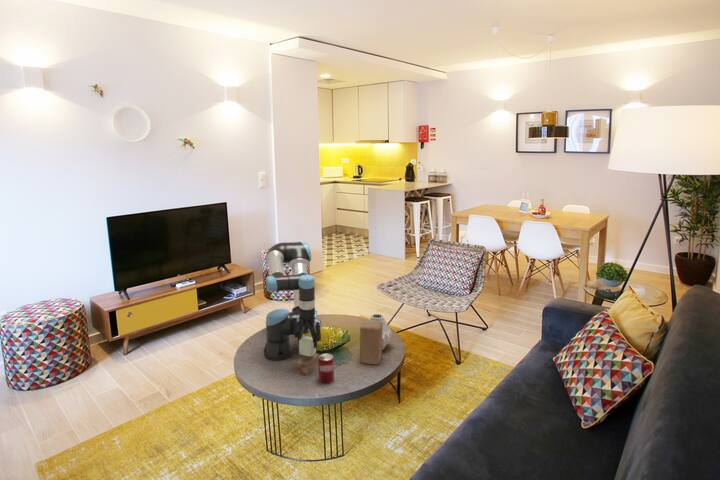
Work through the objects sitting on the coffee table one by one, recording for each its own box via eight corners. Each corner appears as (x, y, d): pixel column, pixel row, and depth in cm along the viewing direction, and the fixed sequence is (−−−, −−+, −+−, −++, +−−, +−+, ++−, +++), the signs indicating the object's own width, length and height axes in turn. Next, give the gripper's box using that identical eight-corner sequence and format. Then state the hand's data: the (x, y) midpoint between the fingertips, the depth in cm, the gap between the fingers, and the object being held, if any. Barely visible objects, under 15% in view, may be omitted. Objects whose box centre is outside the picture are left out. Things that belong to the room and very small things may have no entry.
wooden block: (378, 365, 233) (379, 328, 228) (359, 363, 235) (359, 326, 230) (381, 356, 242) (382, 320, 238) (363, 354, 244) (363, 319, 240)
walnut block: (297, 373, 224) (297, 362, 223) (309, 362, 235) (309, 351, 234) (306, 375, 223) (306, 364, 221) (318, 364, 233) (318, 353, 232)
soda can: (318, 376, 222) (318, 353, 219) (333, 376, 222) (333, 353, 220) (318, 384, 215) (318, 360, 212) (334, 384, 215) (334, 360, 213)
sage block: (299, 354, 225) (299, 340, 223) (305, 349, 230) (305, 336, 229) (310, 356, 223) (310, 343, 221) (316, 351, 228) (315, 338, 227)
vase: (359, 353, 245) (359, 320, 241) (364, 340, 261) (364, 309, 257) (390, 356, 243) (390, 323, 238) (393, 342, 258) (393, 311, 254)
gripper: (285, 307, 222) (286, 351, 227) (321, 313, 215) (321, 359, 220) (293, 302, 228) (294, 345, 233) (328, 307, 221) (328, 352, 226)
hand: (307, 352), depth 227 cm, fingers closed on sage block, 6 cm apart
